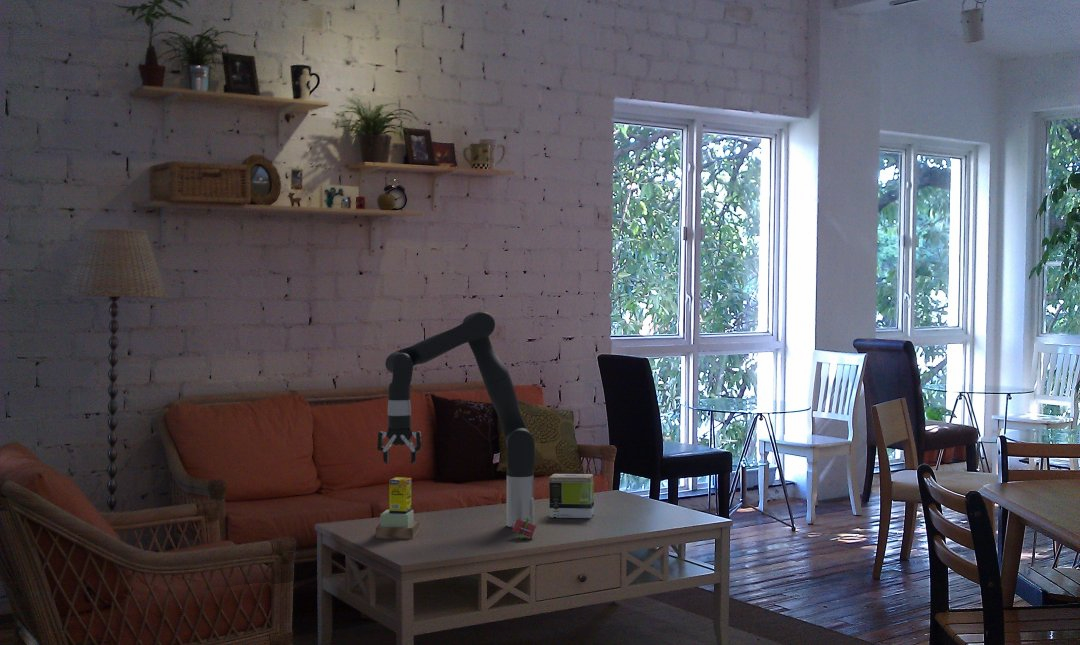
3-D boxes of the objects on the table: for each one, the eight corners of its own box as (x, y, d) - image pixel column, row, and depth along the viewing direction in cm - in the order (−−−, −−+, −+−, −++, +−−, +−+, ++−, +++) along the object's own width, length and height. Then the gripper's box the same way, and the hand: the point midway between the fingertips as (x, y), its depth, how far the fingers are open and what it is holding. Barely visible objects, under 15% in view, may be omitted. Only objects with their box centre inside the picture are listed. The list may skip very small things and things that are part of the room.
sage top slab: (413, 522, 357) (413, 509, 357) (407, 527, 348) (407, 514, 348) (386, 521, 358) (386, 509, 358) (380, 526, 349) (380, 514, 349)
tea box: (594, 514, 391) (594, 473, 391) (590, 519, 381) (590, 477, 381) (553, 513, 394) (553, 472, 394) (548, 518, 384) (548, 476, 384)
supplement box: (406, 513, 350) (406, 480, 350) (388, 513, 351) (389, 479, 351) (411, 510, 356) (411, 477, 356) (394, 510, 357) (394, 477, 357)
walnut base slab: (418, 533, 359) (418, 521, 359) (412, 540, 347) (412, 528, 347) (383, 532, 359) (383, 520, 359) (375, 540, 347) (375, 527, 347)
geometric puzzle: (538, 529, 352) (524, 509, 351) (542, 533, 345) (527, 513, 344) (521, 543, 351) (506, 523, 350) (524, 547, 344) (509, 527, 343)
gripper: (422, 412, 356) (423, 461, 356) (380, 412, 357) (380, 461, 357) (419, 414, 349) (419, 464, 349) (375, 414, 349) (375, 464, 349)
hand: (399, 463), depth 353 cm, fingers open, 8 cm apart
